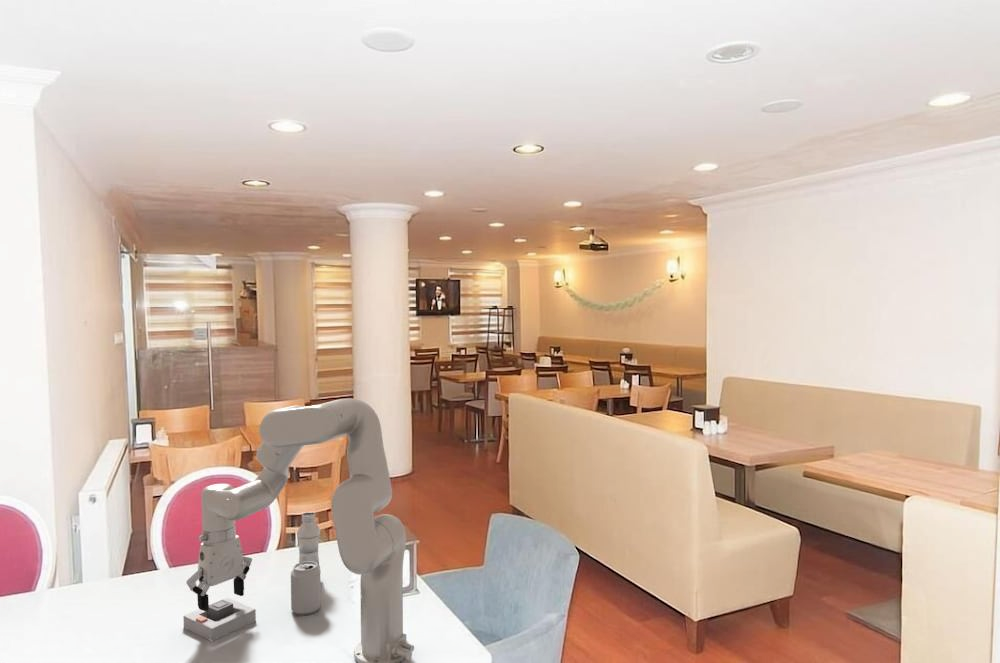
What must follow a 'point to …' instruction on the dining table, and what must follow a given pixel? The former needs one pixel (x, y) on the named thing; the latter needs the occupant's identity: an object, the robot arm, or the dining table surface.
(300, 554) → the plastic bottle
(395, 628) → the robot arm
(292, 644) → the dining table surface
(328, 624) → the dining table surface
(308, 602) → the can
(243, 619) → the socket plate
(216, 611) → the plug
